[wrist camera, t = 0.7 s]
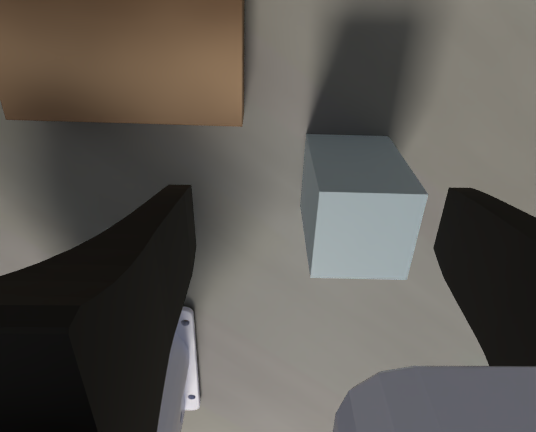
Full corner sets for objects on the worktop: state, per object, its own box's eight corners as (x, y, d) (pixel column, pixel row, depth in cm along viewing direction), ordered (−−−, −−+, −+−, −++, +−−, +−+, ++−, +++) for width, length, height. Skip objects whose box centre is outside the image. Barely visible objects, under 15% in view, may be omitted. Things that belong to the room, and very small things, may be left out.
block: (375, 207, 23) (406, 279, 18) (300, 205, 23) (310, 277, 18) (388, 136, 21) (428, 194, 16) (306, 133, 21) (319, 191, 16)
